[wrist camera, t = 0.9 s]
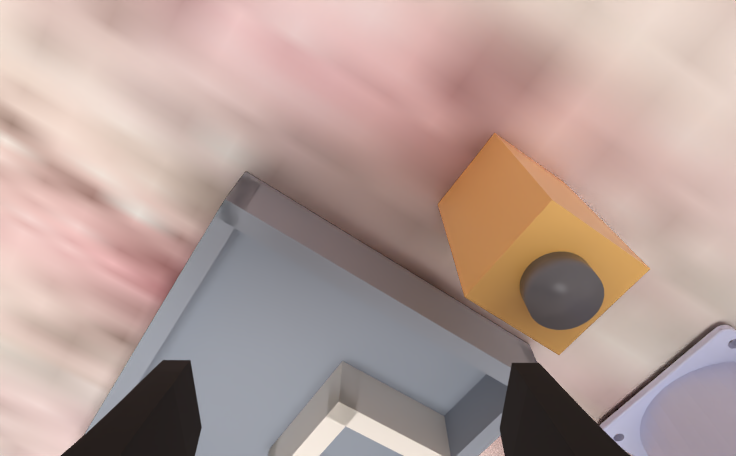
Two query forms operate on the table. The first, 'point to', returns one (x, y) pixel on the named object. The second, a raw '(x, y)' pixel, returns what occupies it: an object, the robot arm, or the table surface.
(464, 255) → the connector
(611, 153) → the table surface
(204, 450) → the tray
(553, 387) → the robot arm
